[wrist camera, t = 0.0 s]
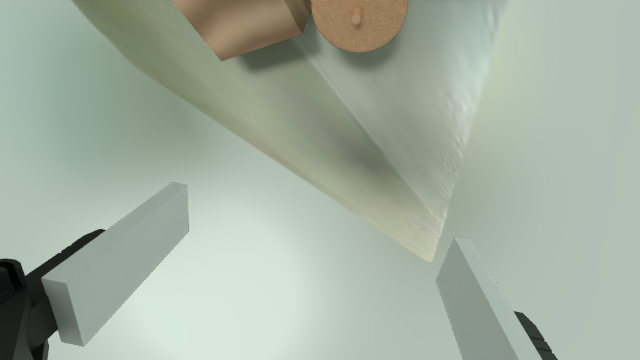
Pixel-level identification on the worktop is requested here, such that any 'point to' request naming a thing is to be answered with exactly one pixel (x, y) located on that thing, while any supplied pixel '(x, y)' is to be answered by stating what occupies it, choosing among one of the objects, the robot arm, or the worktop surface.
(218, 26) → the walnut block
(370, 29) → the lidded jar
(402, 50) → the worktop surface
